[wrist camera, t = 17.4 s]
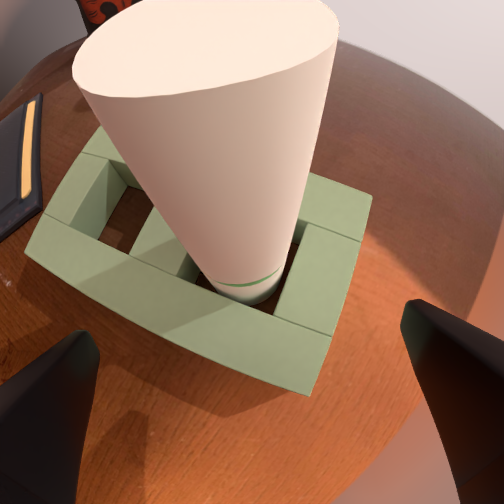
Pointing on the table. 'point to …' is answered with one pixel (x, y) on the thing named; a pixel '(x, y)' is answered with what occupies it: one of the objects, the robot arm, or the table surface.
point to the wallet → (20, 166)
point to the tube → (217, 122)
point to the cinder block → (186, 270)
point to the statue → (101, 11)
